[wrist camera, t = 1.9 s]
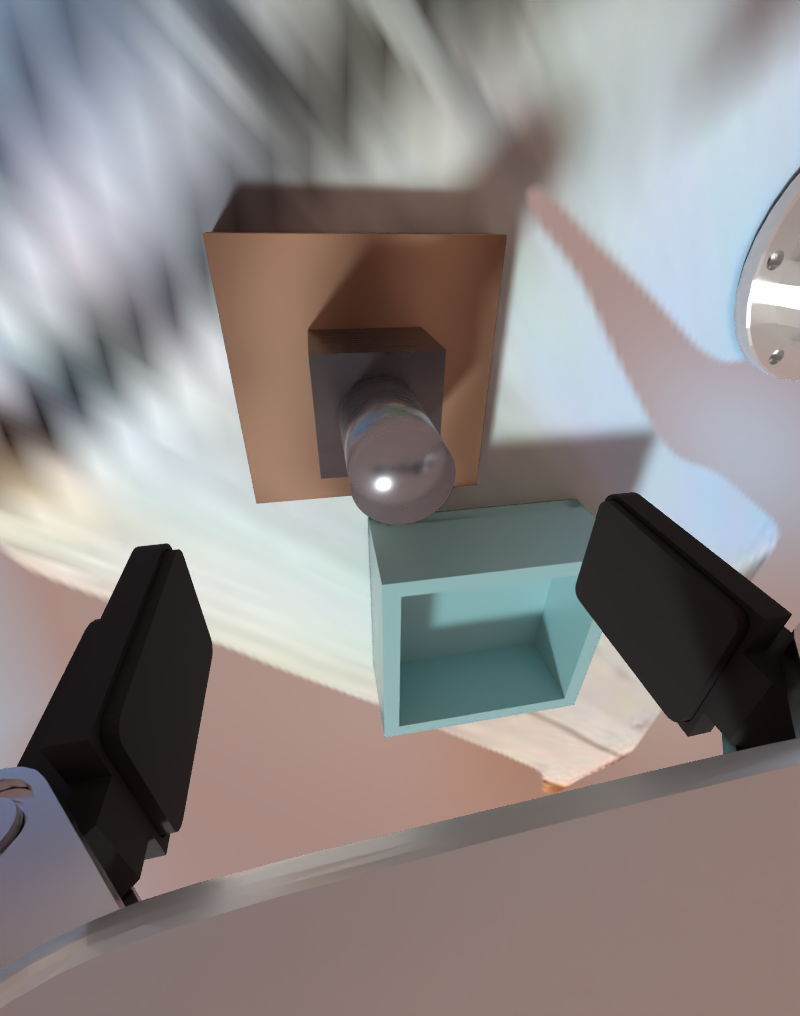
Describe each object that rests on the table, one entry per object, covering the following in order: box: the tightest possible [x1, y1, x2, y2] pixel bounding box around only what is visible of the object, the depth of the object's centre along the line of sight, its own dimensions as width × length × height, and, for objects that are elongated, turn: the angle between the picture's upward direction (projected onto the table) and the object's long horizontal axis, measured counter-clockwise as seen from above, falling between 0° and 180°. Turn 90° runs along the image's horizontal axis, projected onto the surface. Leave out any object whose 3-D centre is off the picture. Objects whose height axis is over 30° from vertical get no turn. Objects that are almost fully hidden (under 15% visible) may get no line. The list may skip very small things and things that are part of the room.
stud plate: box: [203, 232, 507, 503], centre depth 20 cm, size 12×12×5 cm
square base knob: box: [308, 327, 456, 525], centre depth 17 cm, size 5×5×9 cm
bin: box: [368, 499, 602, 737], centre depth 30 cm, size 14×14×6 cm
